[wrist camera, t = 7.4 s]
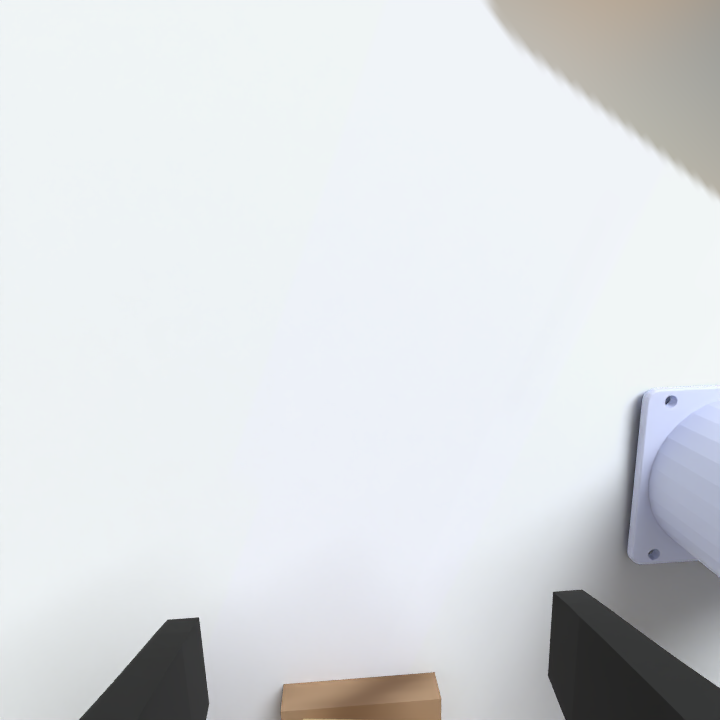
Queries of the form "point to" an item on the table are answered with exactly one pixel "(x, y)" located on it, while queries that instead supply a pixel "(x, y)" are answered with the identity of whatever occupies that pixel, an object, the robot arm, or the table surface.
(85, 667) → the table surface
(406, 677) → the walnut tile
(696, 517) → the robot arm
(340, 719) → the oak tile
